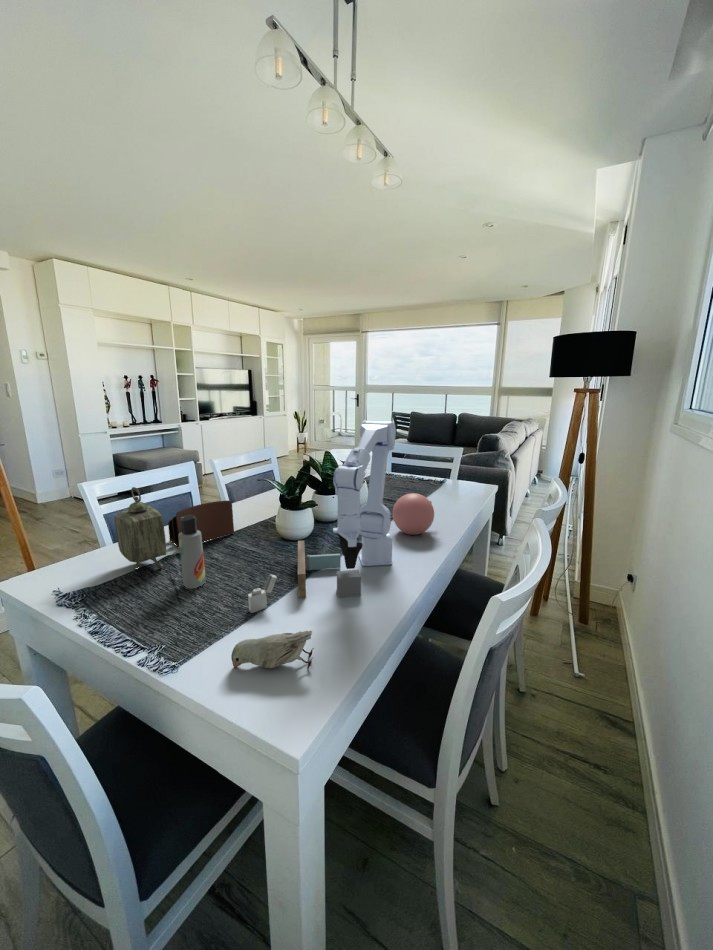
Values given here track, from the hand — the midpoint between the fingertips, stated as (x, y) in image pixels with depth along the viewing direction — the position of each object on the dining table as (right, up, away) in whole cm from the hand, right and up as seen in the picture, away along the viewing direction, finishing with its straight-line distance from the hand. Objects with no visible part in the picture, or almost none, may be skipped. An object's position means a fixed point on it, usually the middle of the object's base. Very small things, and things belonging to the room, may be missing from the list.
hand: (348, 561), depth 101 cm
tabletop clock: (-63, -5, +16) cm, 65 cm away
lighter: (-21, -11, -5) cm, 24 cm away
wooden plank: (-14, -7, +10) cm, 18 cm away
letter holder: (-54, 0, +38) cm, 66 cm away
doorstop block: (0, -9, +2) cm, 9 cm away
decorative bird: (-14, -15, -25) cm, 33 cm away
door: (-8, -5, +15) cm, 18 cm away
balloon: (+25, +1, +45) cm, 51 cm away
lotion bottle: (-43, -8, +6) cm, 44 cm away
